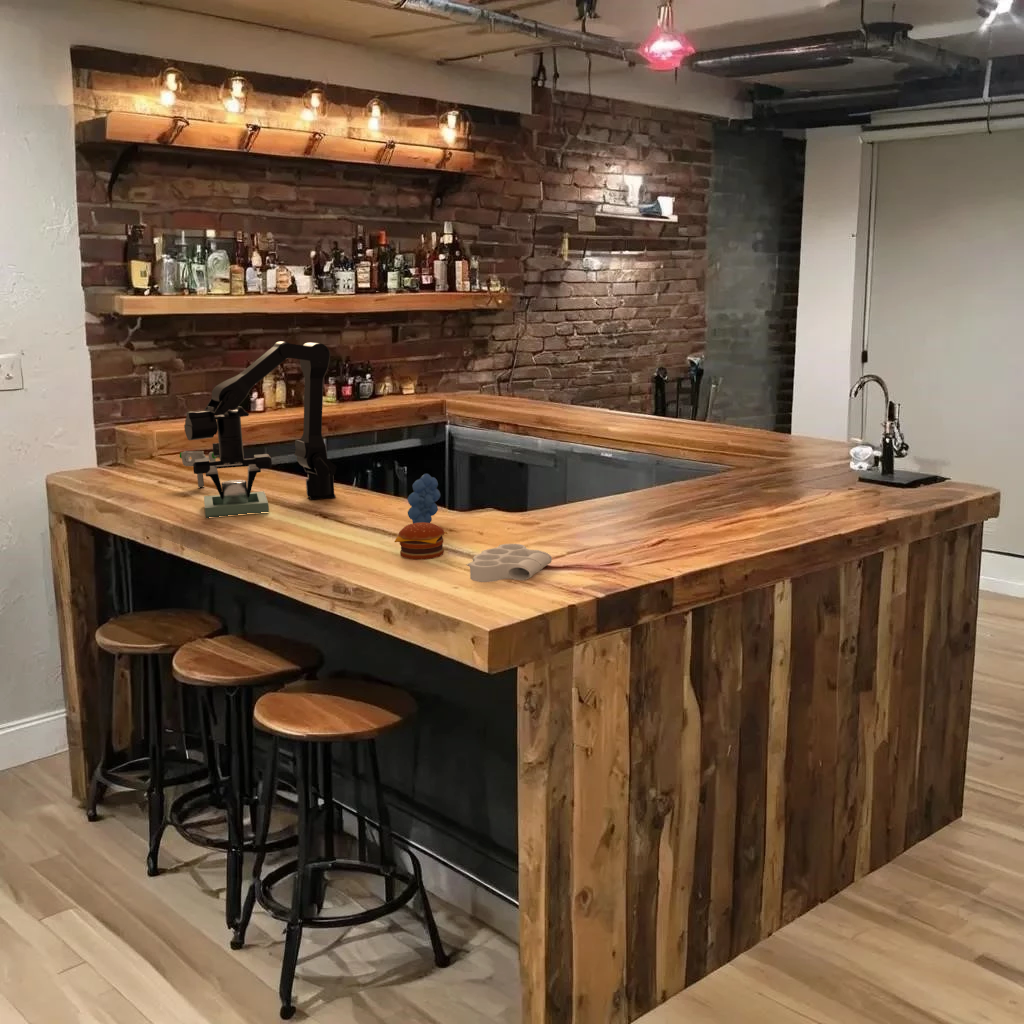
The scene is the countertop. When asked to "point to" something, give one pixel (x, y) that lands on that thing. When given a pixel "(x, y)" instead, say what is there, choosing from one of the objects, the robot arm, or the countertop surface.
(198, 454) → the mechanical component
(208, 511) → the socket frame
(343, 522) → the countertop surface
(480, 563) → the multi-hole tube bracket
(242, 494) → the silver rounded cylinder
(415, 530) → the hamburger
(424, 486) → the grapes
